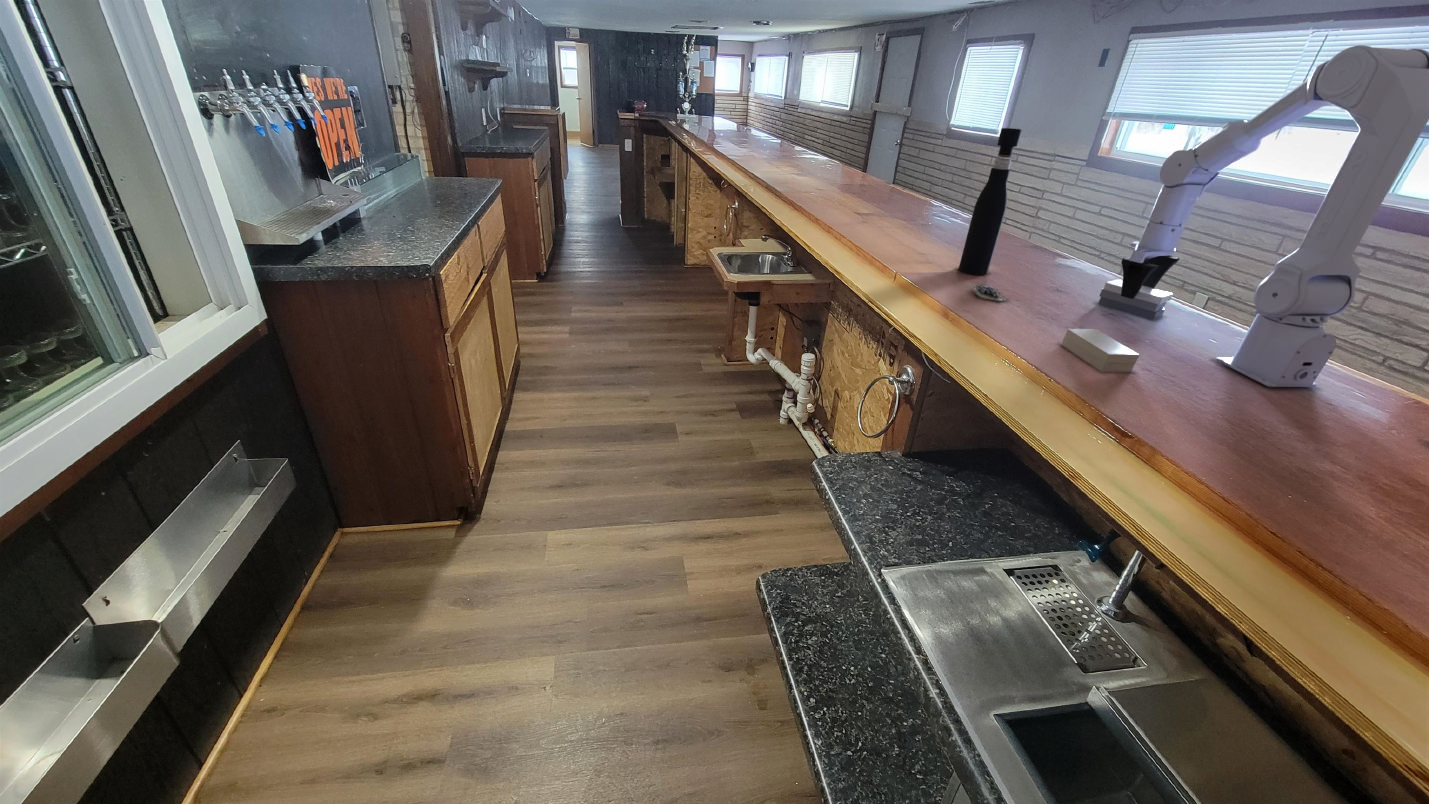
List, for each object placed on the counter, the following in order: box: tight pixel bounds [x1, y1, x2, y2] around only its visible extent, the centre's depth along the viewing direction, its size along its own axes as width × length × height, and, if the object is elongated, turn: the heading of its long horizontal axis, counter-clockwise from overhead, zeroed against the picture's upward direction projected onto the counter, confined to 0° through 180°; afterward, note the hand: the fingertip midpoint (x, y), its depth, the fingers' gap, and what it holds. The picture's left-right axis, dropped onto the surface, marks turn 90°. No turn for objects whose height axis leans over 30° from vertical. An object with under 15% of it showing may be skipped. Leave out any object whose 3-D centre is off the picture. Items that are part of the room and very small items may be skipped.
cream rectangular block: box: [1060, 328, 1140, 372], centre depth 90 cm, size 10×5×3 cm, turn 5°
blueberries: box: [970, 284, 1007, 302], centre depth 116 cm, size 7×8×2 cm
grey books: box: [1097, 288, 1167, 321], centre depth 111 cm, size 10×4×3 cm, turn 35°
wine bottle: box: [958, 127, 1023, 276], centre depth 124 cm, size 6×6×30 cm
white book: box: [1102, 278, 1174, 304], centre depth 110 cm, size 10×5×1 cm, turn 35°
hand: (1135, 294), depth 110 cm, fingers open, 7 cm apart
